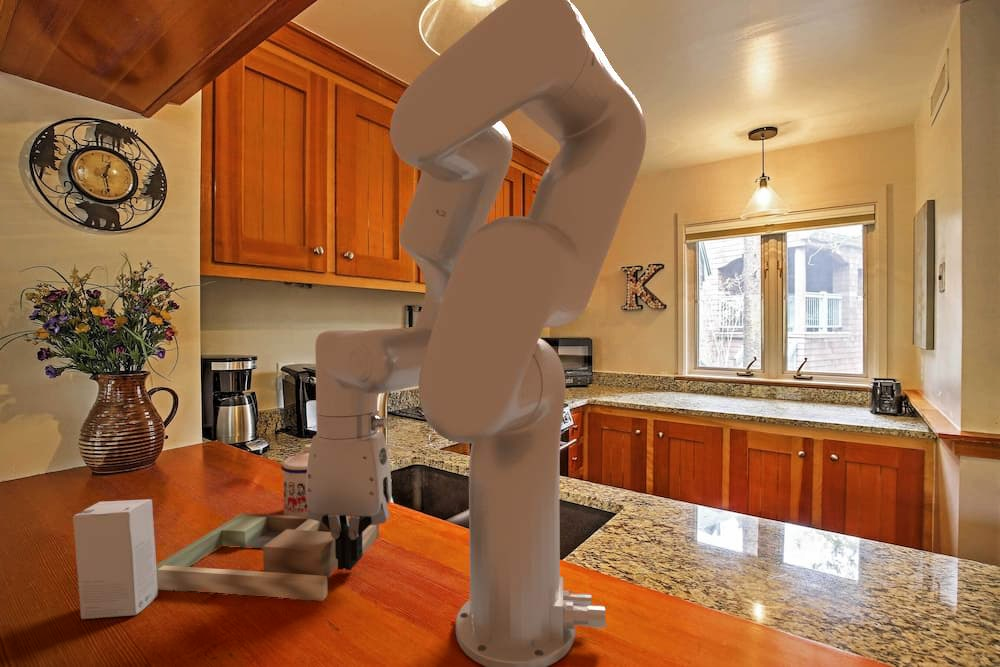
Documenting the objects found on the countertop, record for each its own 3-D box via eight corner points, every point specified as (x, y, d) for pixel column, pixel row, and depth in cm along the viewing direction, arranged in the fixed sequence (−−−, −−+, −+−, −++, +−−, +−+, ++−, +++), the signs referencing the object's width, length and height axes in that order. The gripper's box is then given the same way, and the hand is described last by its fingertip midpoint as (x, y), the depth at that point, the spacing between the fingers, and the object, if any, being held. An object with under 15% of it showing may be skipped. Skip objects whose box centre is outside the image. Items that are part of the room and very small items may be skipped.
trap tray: (379, 535, 72) (378, 519, 72) (323, 601, 55) (322, 580, 55) (241, 528, 75) (241, 513, 75) (149, 588, 58) (148, 569, 58)
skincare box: (159, 595, 57) (157, 496, 56) (134, 618, 52) (131, 511, 52) (105, 598, 56) (101, 499, 56) (74, 622, 52) (71, 514, 51)
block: (341, 565, 64) (340, 532, 63) (321, 586, 59) (320, 550, 59) (287, 561, 65) (286, 529, 65) (263, 580, 60) (263, 546, 60)
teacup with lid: (270, 520, 78) (268, 451, 78) (304, 499, 87) (302, 437, 87) (335, 526, 75) (333, 454, 75) (363, 504, 84) (362, 440, 84)
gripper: (412, 420, 63) (413, 554, 64) (309, 417, 65) (311, 547, 66) (392, 434, 56) (393, 585, 56) (276, 430, 58) (278, 576, 58)
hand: (349, 564), depth 61 cm, fingers closed
